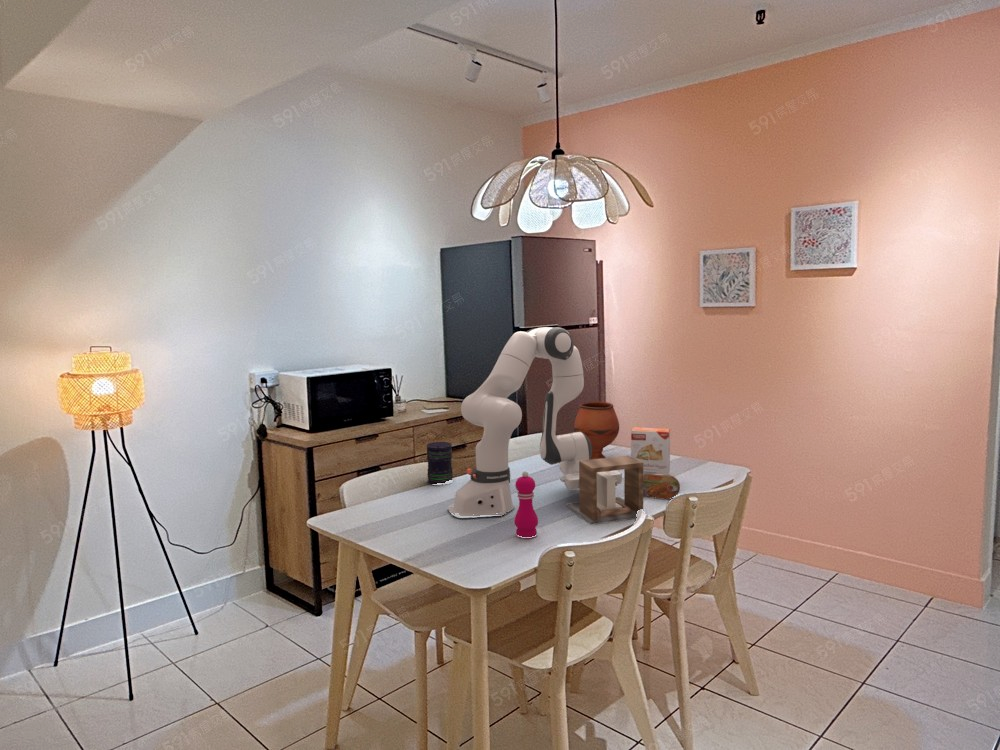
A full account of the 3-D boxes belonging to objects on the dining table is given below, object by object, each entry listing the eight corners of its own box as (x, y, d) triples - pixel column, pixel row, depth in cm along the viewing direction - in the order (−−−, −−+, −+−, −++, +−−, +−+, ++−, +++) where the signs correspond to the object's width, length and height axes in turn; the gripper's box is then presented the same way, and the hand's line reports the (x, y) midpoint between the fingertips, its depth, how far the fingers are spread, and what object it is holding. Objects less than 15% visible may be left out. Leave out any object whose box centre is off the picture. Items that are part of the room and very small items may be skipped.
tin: (636, 495, 244) (636, 473, 242) (638, 493, 246) (638, 470, 245) (678, 501, 237) (678, 477, 235) (680, 498, 239) (681, 475, 238)
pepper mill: (513, 531, 211) (512, 468, 209) (536, 530, 212) (535, 467, 209) (515, 540, 204) (514, 475, 201) (539, 539, 204) (538, 474, 202)
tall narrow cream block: (600, 513, 222) (600, 479, 221) (588, 505, 231) (588, 472, 229) (622, 510, 225) (622, 477, 223) (610, 502, 233) (609, 470, 232)
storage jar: (429, 478, 272) (428, 442, 270) (454, 478, 271) (453, 441, 269) (426, 486, 262) (424, 448, 260) (451, 485, 262) (450, 447, 260)
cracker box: (630, 484, 258) (630, 429, 255) (632, 479, 263) (632, 426, 261) (668, 486, 253) (669, 431, 251) (670, 482, 259) (670, 428, 256)
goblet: (575, 468, 282) (575, 408, 279) (572, 456, 301) (572, 400, 298) (622, 467, 281) (622, 407, 278) (616, 455, 300) (616, 399, 297)
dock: (590, 524, 216) (589, 469, 213) (566, 506, 234) (566, 455, 231) (646, 516, 222) (646, 462, 219) (619, 499, 240) (619, 449, 237)
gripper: (558, 469, 238) (574, 479, 225) (611, 463, 244) (629, 473, 231) (558, 486, 239) (574, 498, 226) (611, 480, 245) (629, 491, 232)
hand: (602, 485), depth 229 cm, fingers open, 8 cm apart
